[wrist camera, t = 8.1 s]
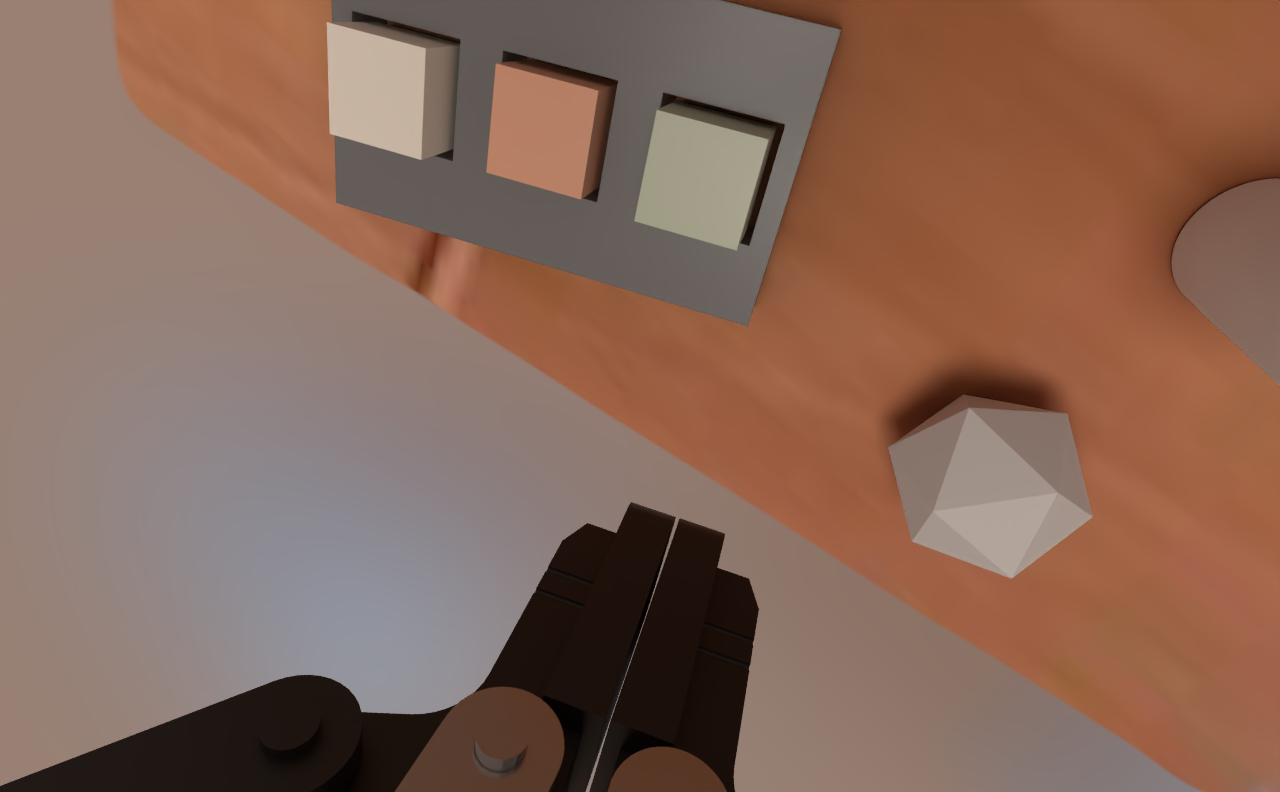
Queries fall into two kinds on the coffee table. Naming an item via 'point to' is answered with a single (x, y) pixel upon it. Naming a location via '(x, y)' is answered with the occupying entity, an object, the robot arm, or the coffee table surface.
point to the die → (991, 482)
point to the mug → (1236, 268)
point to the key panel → (647, 80)
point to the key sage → (703, 173)
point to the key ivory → (392, 87)
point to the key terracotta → (550, 126)
